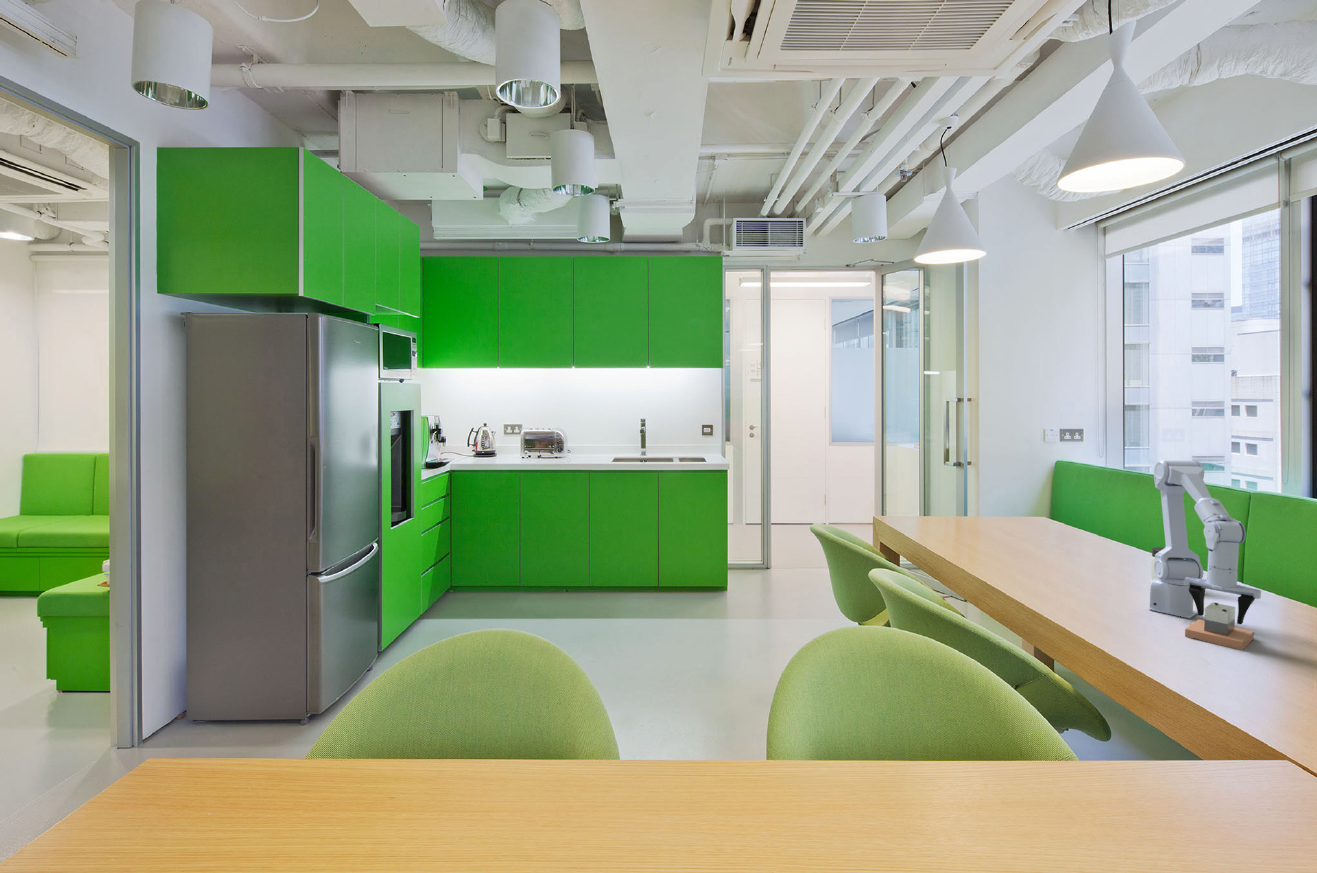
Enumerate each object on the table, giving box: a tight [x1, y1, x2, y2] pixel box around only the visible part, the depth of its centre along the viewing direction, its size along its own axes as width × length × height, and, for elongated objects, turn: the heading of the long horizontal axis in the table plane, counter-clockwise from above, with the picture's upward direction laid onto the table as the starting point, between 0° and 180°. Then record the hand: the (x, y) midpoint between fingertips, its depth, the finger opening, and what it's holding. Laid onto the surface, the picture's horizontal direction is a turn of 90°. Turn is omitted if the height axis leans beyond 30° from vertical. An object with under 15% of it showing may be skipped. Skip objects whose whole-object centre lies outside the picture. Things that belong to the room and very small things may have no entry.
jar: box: [1149, 546, 1185, 585], centre depth 204 cm, size 9×8×12 cm
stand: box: [1184, 618, 1255, 651], centre depth 160 cm, size 11×12×2 cm
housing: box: [1204, 602, 1236, 636], centre depth 160 cm, size 7×4×6 cm, turn 126°
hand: (1220, 619), depth 160 cm, fingers open, 7 cm apart
